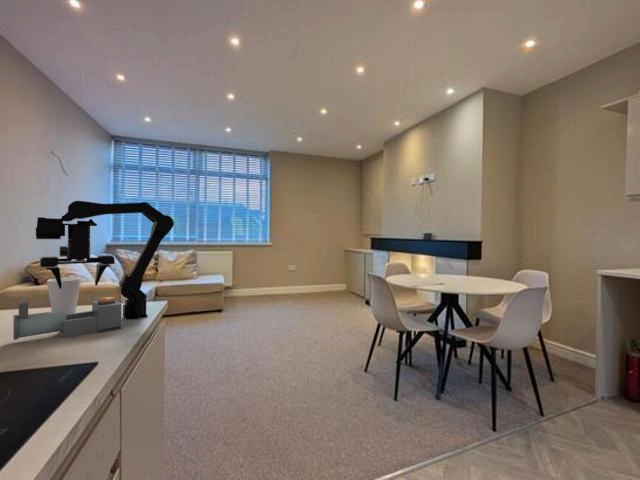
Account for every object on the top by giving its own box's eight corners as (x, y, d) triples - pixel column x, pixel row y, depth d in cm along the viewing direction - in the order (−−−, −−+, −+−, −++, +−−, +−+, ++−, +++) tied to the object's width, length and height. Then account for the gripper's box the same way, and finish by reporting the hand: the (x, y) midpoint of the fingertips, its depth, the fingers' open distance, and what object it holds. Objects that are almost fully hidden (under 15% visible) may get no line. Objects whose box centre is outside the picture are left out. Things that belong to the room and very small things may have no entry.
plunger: (113, 308, 100) (113, 296, 100) (116, 311, 97) (116, 298, 97) (96, 310, 97) (96, 298, 97) (99, 313, 94) (99, 300, 94)
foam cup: (79, 309, 117) (79, 276, 117) (82, 314, 110) (82, 279, 110) (46, 314, 110) (46, 278, 110) (47, 319, 104) (47, 282, 103)
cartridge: (63, 328, 92) (63, 295, 92) (66, 333, 87) (66, 299, 87) (13, 336, 84) (13, 301, 84) (13, 342, 80) (13, 305, 80)
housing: (113, 321, 103) (114, 298, 103) (121, 328, 96) (121, 304, 96) (60, 330, 93) (60, 305, 93) (63, 339, 86) (64, 311, 86)
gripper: (107, 239, 111) (107, 281, 111) (38, 238, 98) (38, 286, 98) (115, 239, 103) (114, 285, 103) (41, 239, 90) (40, 291, 90)
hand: (78, 286), depth 99 cm, fingers open, 9 cm apart
